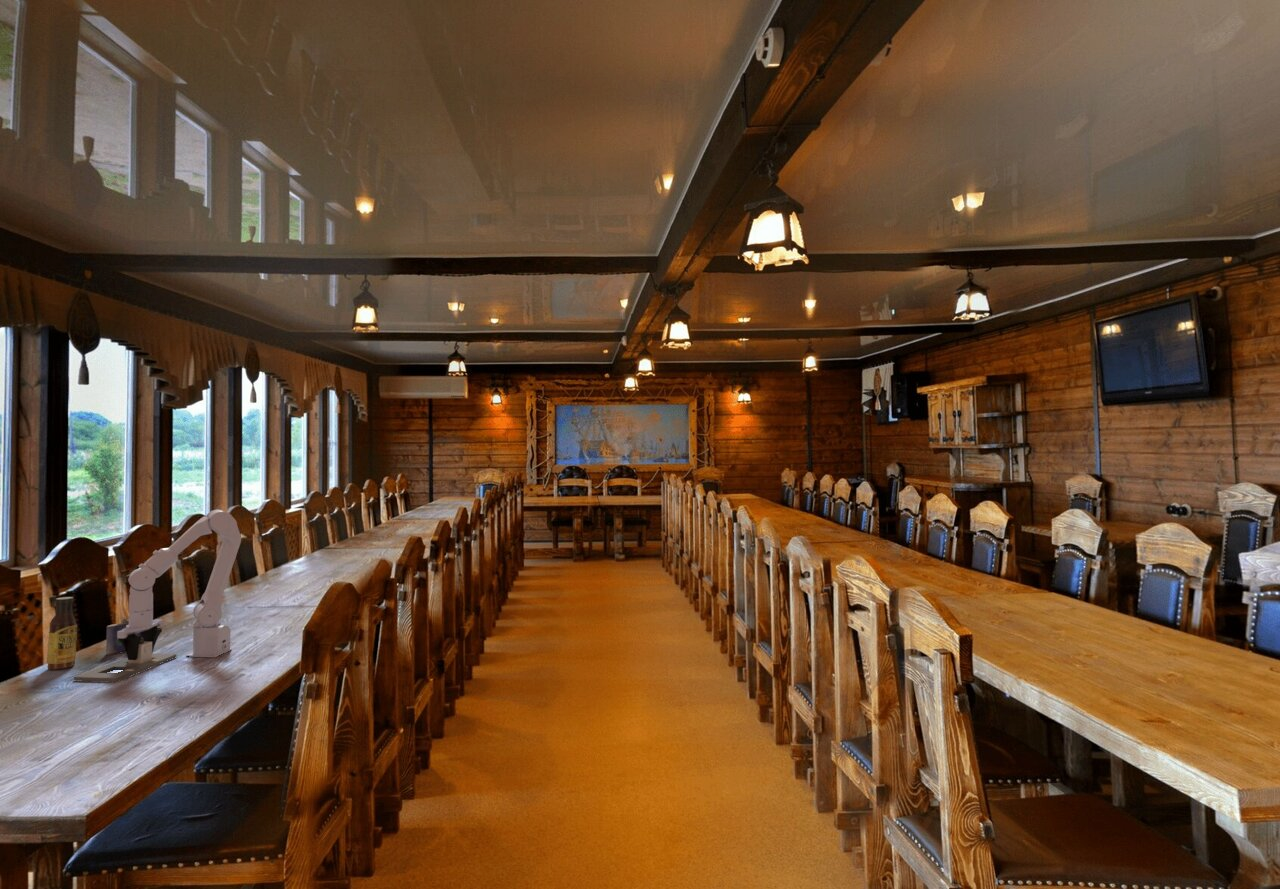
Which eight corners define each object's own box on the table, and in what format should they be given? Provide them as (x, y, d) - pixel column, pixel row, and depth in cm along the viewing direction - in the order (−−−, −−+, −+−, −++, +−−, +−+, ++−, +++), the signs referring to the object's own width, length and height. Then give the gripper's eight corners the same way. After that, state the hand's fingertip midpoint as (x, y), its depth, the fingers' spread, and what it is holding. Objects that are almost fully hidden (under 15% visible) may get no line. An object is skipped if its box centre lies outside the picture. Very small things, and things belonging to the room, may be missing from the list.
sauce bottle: (59, 671, 194) (60, 601, 194) (41, 670, 195) (42, 600, 195) (82, 664, 200) (83, 596, 200) (64, 663, 201) (65, 595, 202)
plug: (153, 662, 202) (154, 636, 203) (143, 666, 198) (143, 640, 199) (139, 661, 203) (139, 636, 203) (128, 665, 199) (128, 640, 199)
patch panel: (176, 658, 207) (176, 653, 207) (115, 682, 185) (115, 677, 185) (138, 657, 208) (138, 652, 208) (73, 681, 186) (73, 676, 186)
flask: (107, 656, 208) (108, 620, 209) (104, 654, 210) (104, 619, 210) (143, 649, 216) (143, 614, 216) (139, 647, 218) (139, 613, 218)
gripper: (147, 604, 208) (146, 649, 208) (107, 615, 194) (106, 663, 194) (169, 604, 208) (169, 649, 208) (130, 616, 193) (130, 664, 193)
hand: (140, 656), depth 201 cm, fingers open, 5 cm apart
